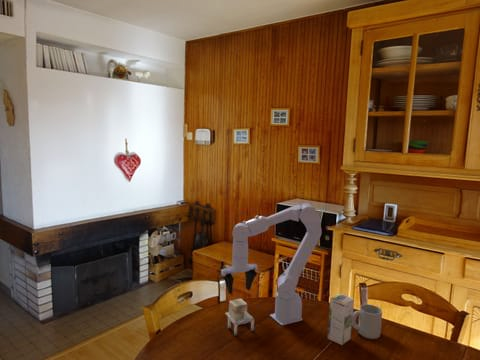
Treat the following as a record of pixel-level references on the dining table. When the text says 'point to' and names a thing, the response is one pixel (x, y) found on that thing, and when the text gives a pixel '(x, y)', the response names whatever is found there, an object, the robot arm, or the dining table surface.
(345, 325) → the syrup box
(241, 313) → the birch block
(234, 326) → the small white stool
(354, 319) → the cup
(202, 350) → the dining table surface
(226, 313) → the end pad
